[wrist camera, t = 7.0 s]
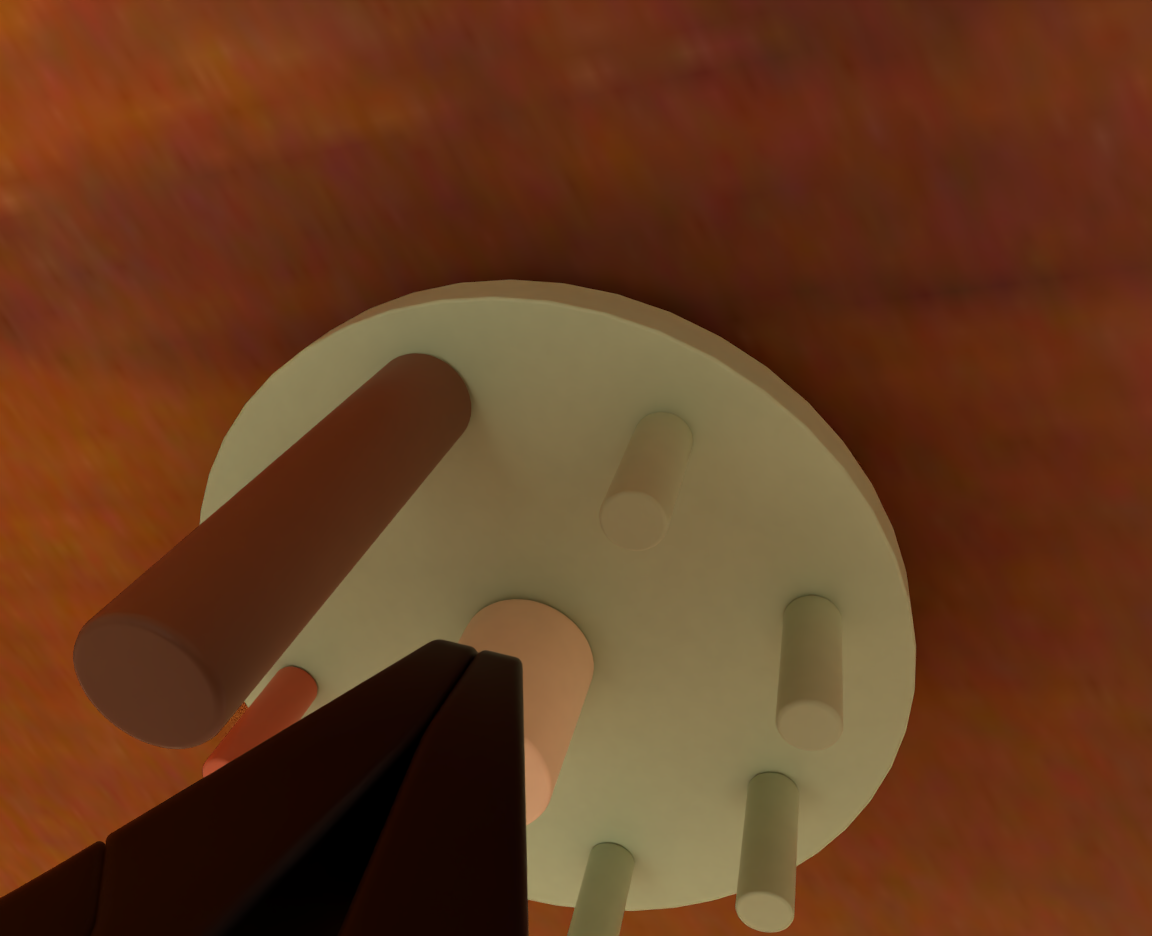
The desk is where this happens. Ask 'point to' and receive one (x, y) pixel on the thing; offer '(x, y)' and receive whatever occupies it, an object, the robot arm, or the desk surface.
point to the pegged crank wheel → (550, 584)
